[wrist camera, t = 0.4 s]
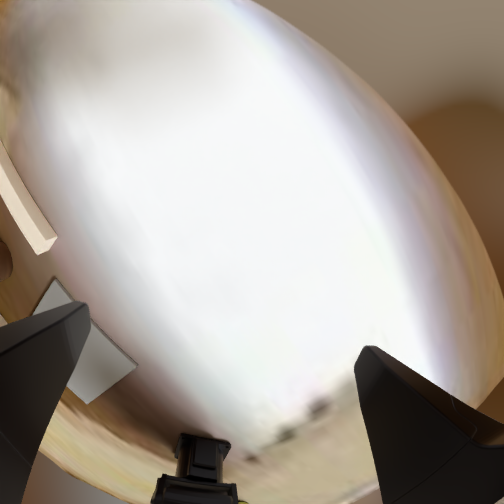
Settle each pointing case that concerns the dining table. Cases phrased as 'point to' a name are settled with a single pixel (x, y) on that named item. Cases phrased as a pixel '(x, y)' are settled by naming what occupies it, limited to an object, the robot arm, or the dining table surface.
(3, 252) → the brown wooden cylinder
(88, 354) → the mat
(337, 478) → the dining table surface
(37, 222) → the white frame
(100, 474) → the dining table surface
